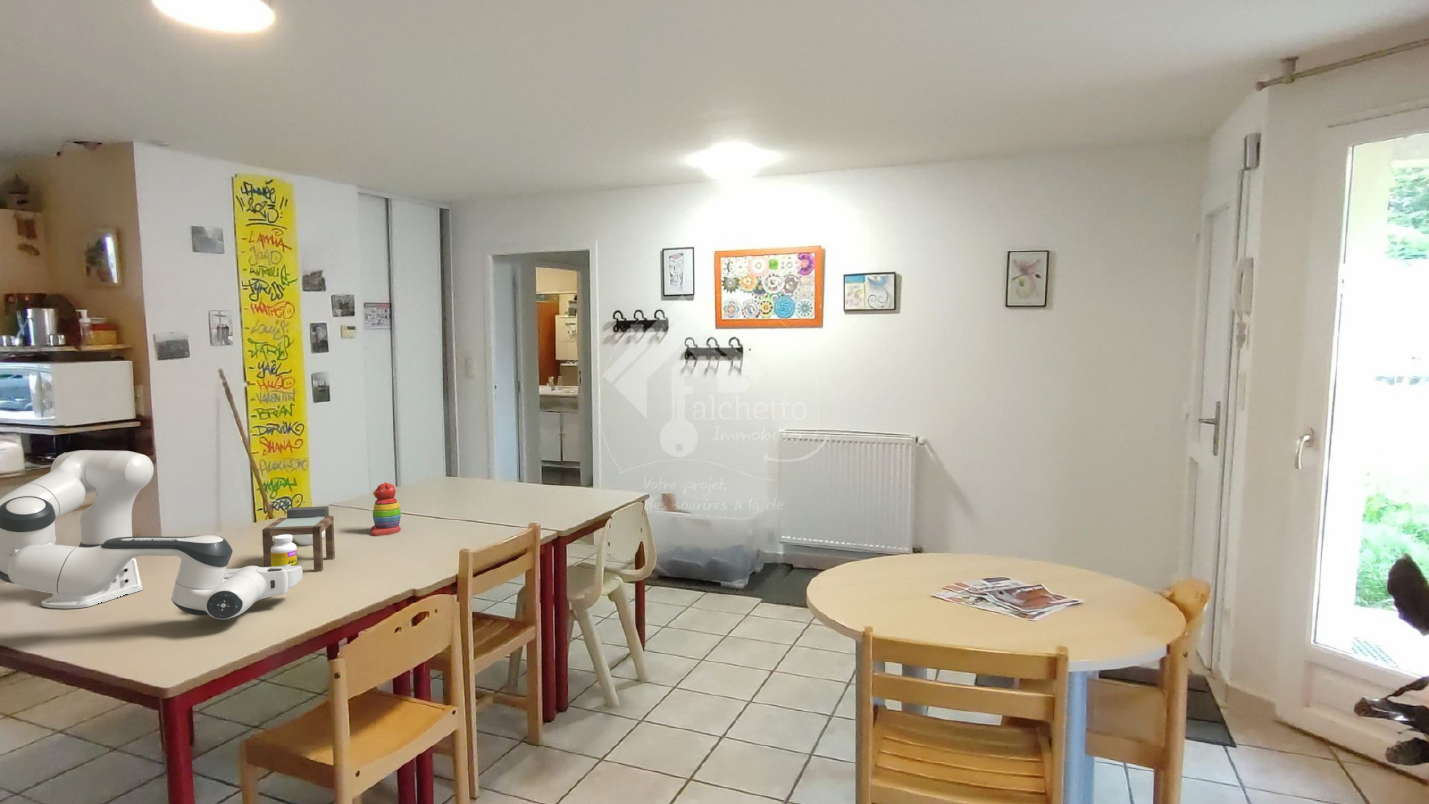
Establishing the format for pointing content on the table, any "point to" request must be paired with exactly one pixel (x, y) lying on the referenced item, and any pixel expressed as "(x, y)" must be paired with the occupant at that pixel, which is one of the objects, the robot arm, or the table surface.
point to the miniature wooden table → (316, 530)
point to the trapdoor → (304, 516)
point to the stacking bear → (385, 511)
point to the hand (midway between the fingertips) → (269, 568)
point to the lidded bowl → (306, 538)
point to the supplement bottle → (283, 551)
